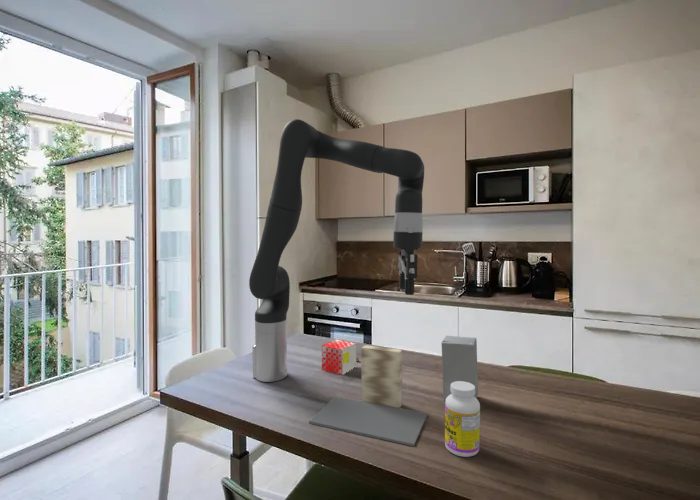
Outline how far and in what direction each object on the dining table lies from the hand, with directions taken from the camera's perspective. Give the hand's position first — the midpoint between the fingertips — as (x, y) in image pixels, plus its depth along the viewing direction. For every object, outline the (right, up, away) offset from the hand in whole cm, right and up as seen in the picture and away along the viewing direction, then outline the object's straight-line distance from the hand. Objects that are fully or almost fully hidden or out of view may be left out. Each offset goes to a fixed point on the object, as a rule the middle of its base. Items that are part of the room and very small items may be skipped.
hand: (406, 291), depth 99 cm
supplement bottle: (+7, -29, -24) cm, 38 cm away
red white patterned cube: (-18, -27, +20) cm, 38 cm away
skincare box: (+14, -28, -2) cm, 31 cm away
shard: (-16, -27, +32) cm, 45 cm away
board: (-7, -28, -4) cm, 29 cm away
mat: (-10, -28, -13) cm, 32 cm away
